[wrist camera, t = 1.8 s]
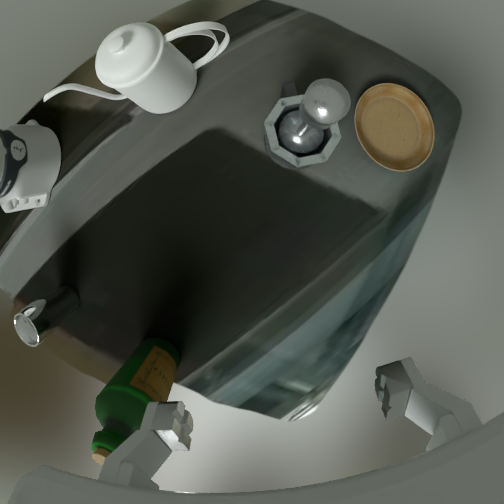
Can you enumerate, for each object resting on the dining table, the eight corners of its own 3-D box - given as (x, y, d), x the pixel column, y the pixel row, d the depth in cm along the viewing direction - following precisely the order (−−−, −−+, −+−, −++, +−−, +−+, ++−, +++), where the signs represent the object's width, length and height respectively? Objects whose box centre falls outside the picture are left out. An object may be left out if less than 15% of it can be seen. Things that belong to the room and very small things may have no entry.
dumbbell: (284, 157, 35) (299, 143, 19) (274, 116, 34) (280, 70, 17) (326, 149, 34) (373, 131, 18) (316, 108, 33) (353, 61, 17)
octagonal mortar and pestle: (272, 175, 45) (273, 175, 33) (255, 108, 42) (250, 86, 31) (329, 163, 44) (349, 160, 32) (312, 97, 41) (326, 73, 30)
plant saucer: (358, 74, 40) (363, 69, 37) (432, 106, 40) (440, 104, 38) (341, 154, 44) (345, 154, 41) (418, 183, 44) (425, 183, 41)
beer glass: (66, 316, 54) (26, 350, 39) (52, 287, 52) (8, 316, 38) (86, 309, 53) (45, 345, 38) (71, 278, 51) (25, 308, 37)
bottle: (184, 380, 56) (143, 490, 29) (136, 367, 56) (78, 465, 29) (188, 338, 53) (135, 454, 26) (135, 325, 53) (60, 423, 26)
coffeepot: (96, 91, 42) (29, 66, 24) (226, 34, 39) (205, -29, 21) (108, 142, 44) (37, 134, 26) (245, 87, 41) (232, 37, 23)
